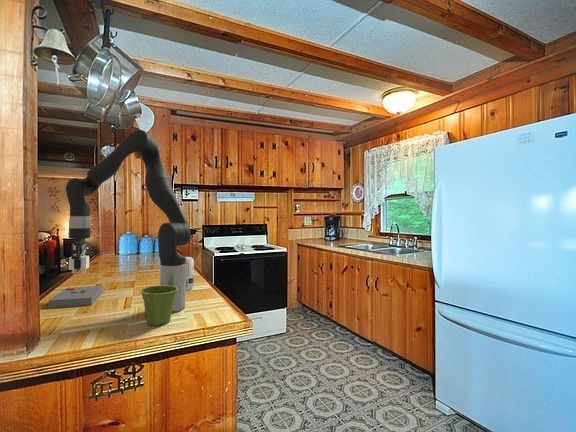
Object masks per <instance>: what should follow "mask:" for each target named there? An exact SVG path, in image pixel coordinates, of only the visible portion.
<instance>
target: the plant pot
mask: <svg viewBox="0 0 576 432" xmlns="http://www.w3.org/2000/svg"><path fill="white" fill-rule="evenodd" d="M177 290H178V288H177V287H175V286H167V285H163V286H160V285H153V286H152V285H151V286H148V287H144V288H141V289H140V290H139V291H140V293H141V295H142V296H141V297H142V299H143V304H144V311H145V313H144V314H145V319H146V323H147V325H149V326H154V327H157V326H160V325H166V324H168V323H170V321H171V319H172V318H171V317H172V313H173V312H172V308H173V303H174V298H175V296H176V291H177Z"/></svg>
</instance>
